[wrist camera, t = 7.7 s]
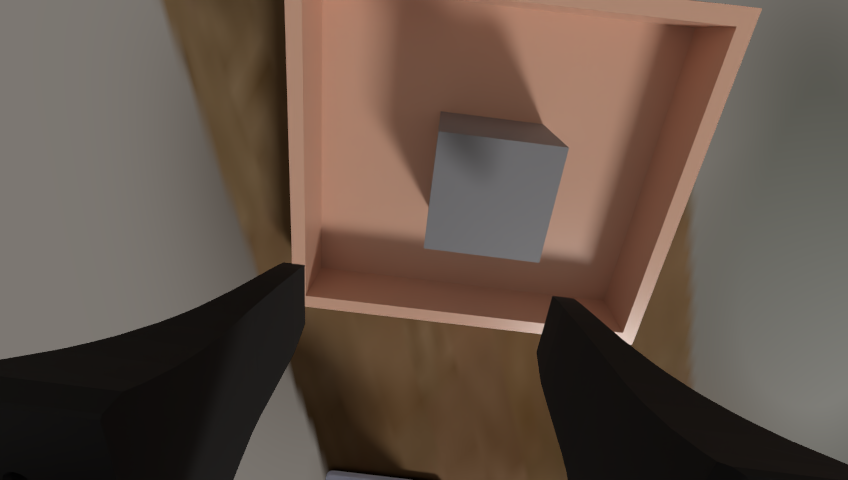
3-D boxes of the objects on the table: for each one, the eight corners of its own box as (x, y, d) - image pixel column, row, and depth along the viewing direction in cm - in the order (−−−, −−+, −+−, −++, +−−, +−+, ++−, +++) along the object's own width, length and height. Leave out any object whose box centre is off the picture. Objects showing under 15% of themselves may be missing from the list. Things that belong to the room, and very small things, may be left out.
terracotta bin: (610, 308, 23) (631, 344, 20) (311, 273, 23) (293, 304, 20) (712, 13, 17) (762, 8, 14) (309, -34, 17) (283, -47, 14)
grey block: (521, 218, 21) (539, 262, 17) (428, 207, 21) (423, 248, 17) (542, 124, 19) (569, 147, 15) (440, 111, 19) (438, 131, 15)
